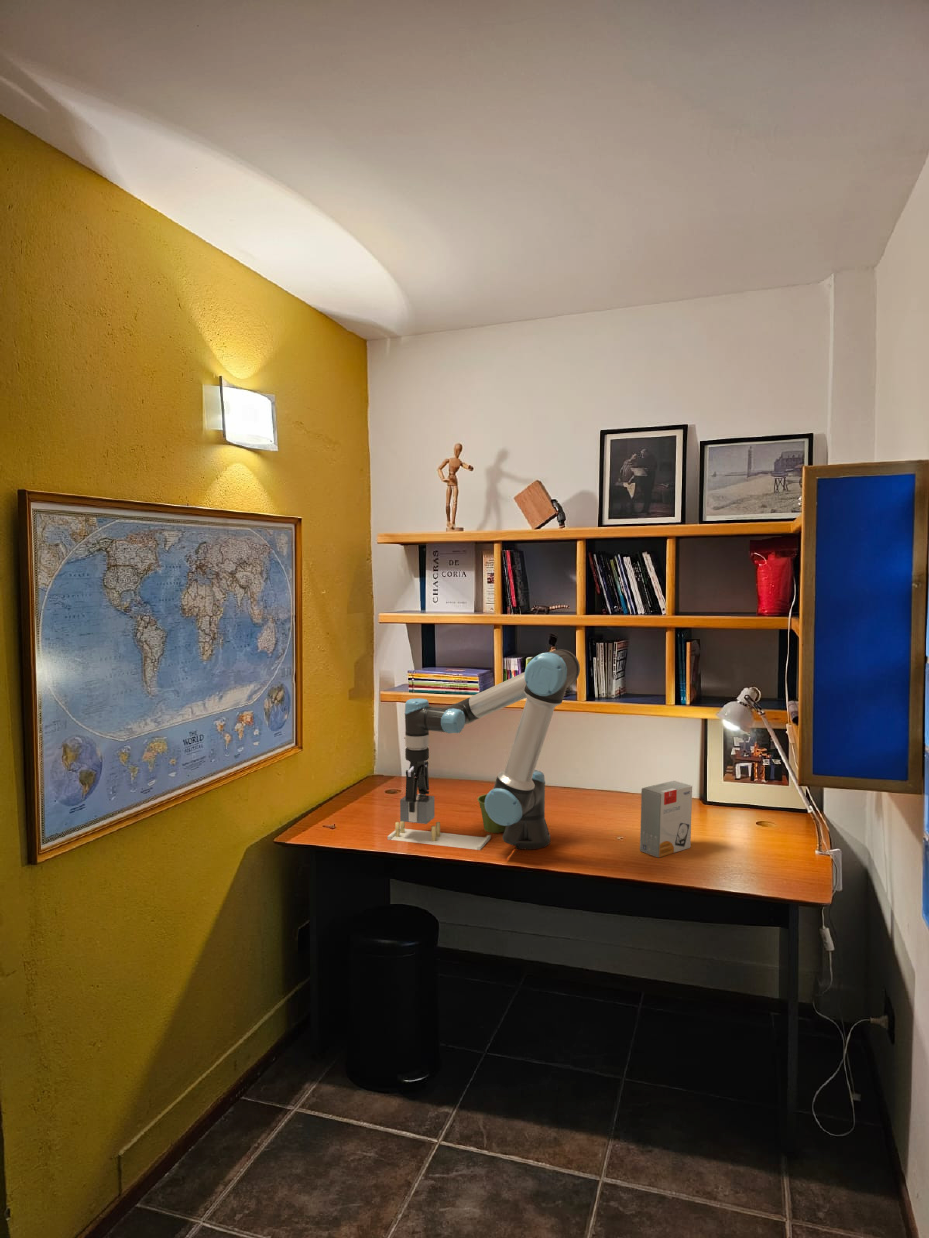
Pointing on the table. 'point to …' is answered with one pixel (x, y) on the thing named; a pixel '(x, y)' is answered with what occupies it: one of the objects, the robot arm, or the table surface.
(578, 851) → the table surface
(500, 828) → the plant pot
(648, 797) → the hard drive box
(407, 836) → the tray
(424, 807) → the block
